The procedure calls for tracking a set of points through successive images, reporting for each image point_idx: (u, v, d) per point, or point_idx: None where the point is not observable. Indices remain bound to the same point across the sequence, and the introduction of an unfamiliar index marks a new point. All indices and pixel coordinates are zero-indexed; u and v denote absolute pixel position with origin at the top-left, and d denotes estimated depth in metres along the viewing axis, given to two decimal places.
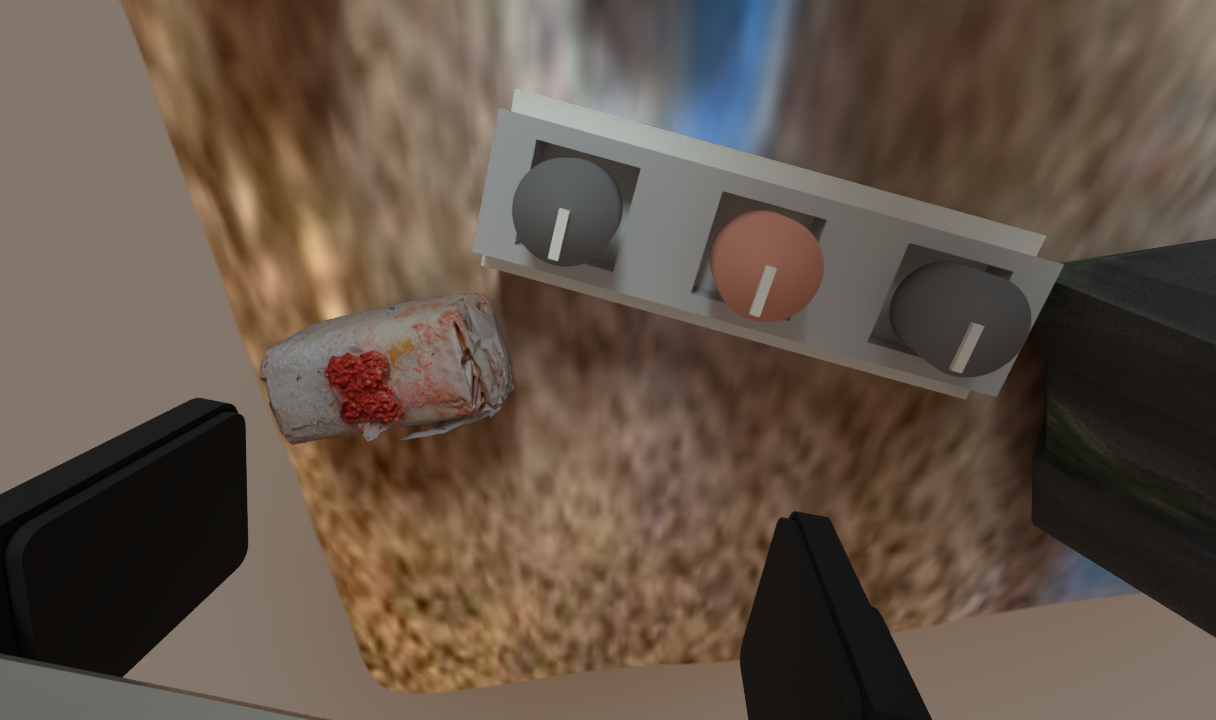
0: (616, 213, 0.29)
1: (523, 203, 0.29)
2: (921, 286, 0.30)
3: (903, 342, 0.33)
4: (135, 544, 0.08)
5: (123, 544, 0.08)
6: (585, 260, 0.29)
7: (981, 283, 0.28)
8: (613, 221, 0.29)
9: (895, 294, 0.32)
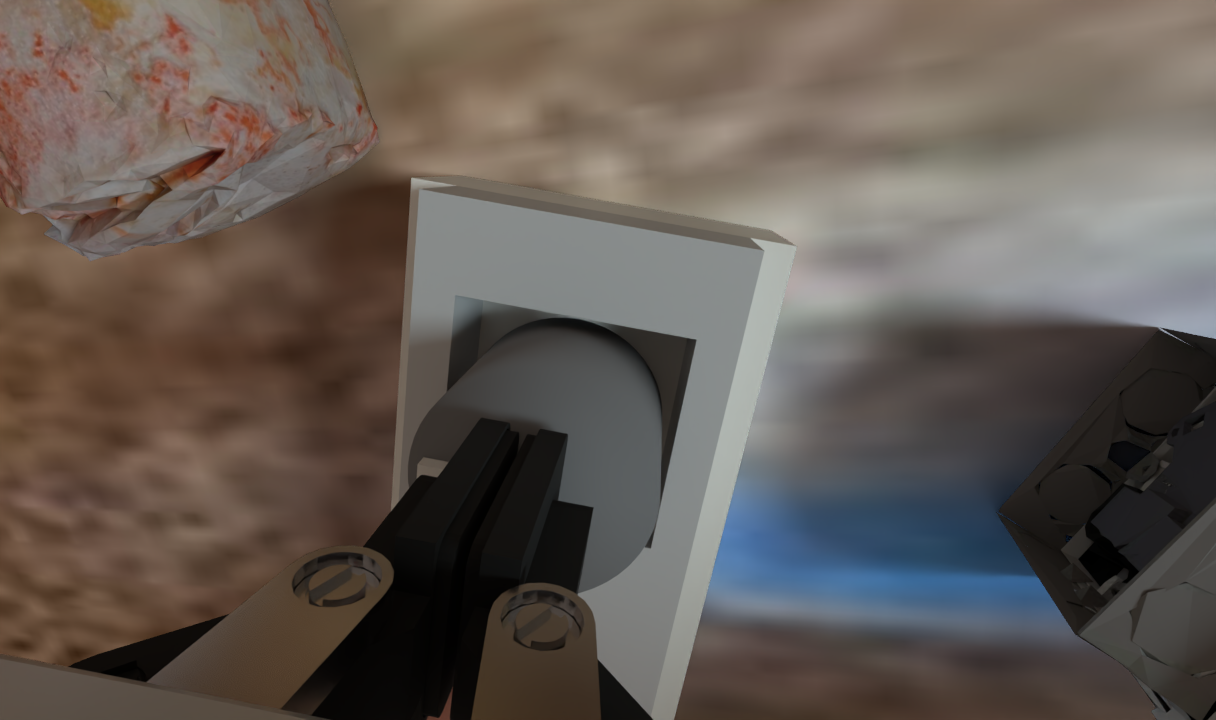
0: None
1: (541, 395, 0.11)
2: None
3: None
4: None
5: None
6: None
7: None
8: None
9: None
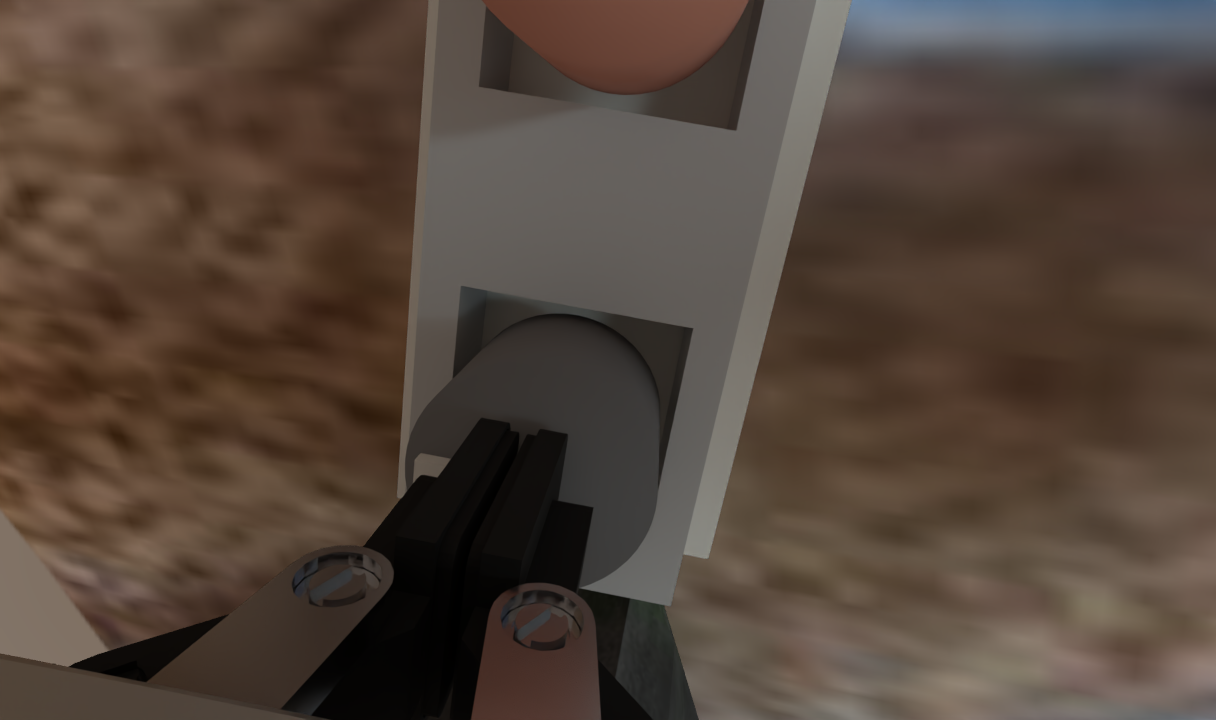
0: None
1: None
2: (608, 358, 0.13)
3: None
4: None
5: None
6: None
7: (635, 479, 0.12)
8: None
9: (579, 318, 0.15)
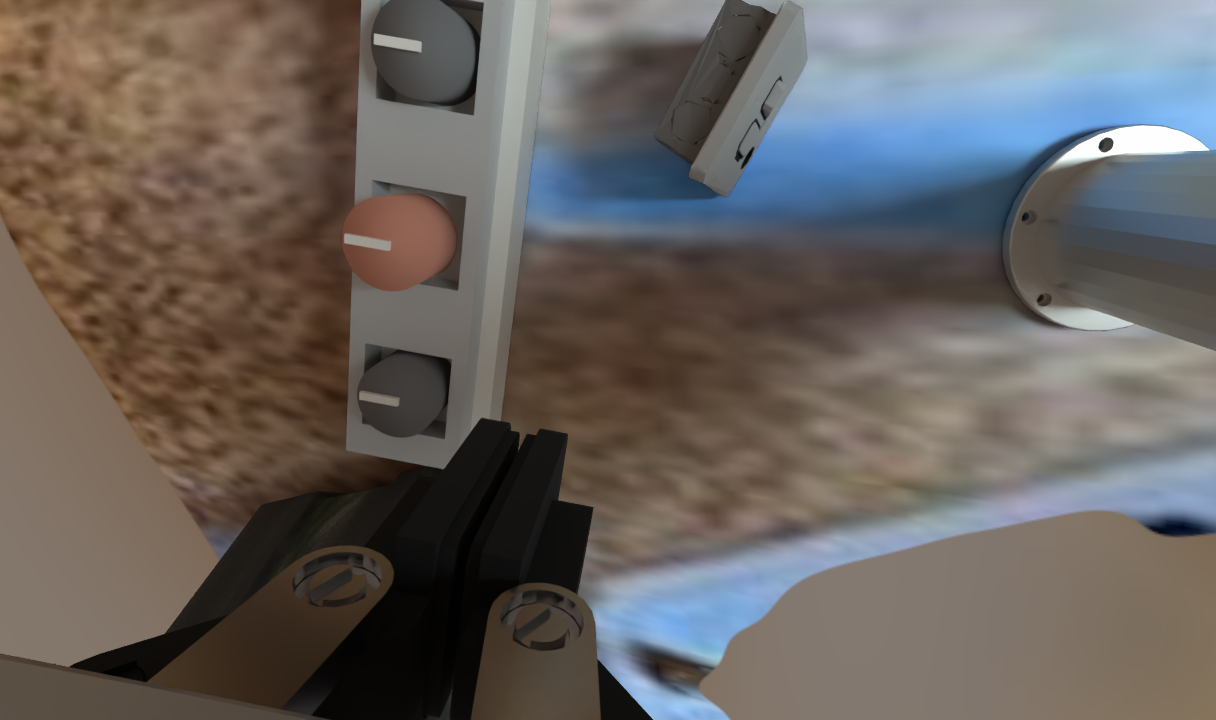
0: (426, 98, 0.33)
1: (418, 3, 0.31)
2: (425, 360, 0.39)
3: None
4: None
5: None
6: (381, 72, 0.32)
7: (428, 397, 0.38)
8: (419, 95, 0.33)
9: None
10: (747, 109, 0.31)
